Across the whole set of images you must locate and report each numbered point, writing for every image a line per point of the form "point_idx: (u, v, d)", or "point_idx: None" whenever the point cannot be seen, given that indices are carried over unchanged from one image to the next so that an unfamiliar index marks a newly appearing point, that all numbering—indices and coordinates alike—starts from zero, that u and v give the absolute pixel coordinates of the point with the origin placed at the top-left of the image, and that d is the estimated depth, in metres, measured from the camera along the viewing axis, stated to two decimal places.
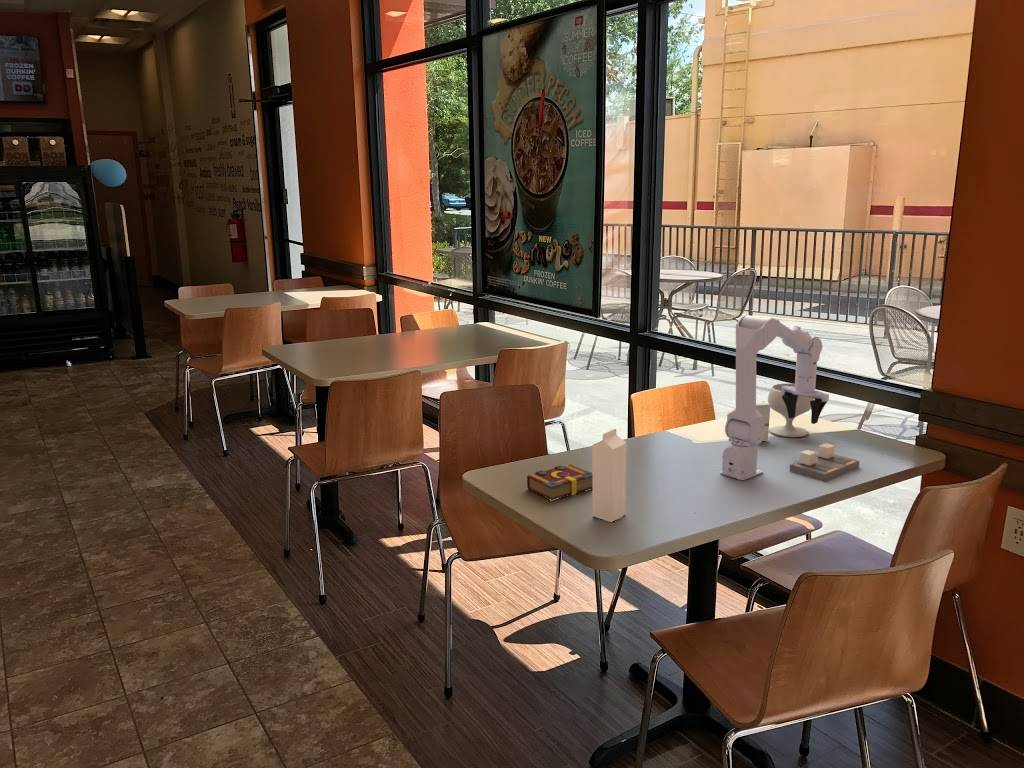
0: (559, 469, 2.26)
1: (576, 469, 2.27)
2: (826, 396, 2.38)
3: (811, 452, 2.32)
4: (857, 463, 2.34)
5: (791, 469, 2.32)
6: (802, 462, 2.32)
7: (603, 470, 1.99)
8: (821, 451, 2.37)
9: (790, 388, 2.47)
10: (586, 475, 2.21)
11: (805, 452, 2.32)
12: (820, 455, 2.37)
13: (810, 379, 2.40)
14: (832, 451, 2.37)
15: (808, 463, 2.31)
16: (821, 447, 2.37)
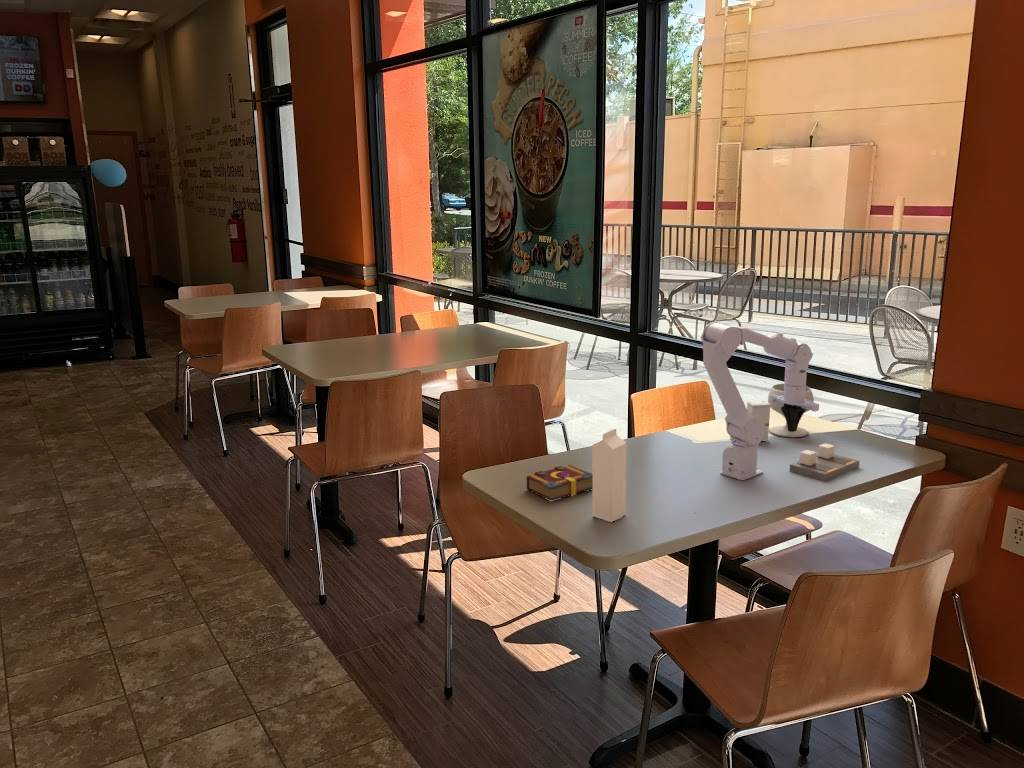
0: (559, 469, 2.26)
1: (575, 469, 2.26)
2: (816, 405, 2.27)
3: (811, 452, 2.32)
4: (857, 463, 2.34)
5: (791, 469, 2.32)
6: (802, 462, 2.32)
7: (603, 470, 1.99)
8: (821, 451, 2.37)
9: (779, 397, 2.36)
10: (586, 476, 2.21)
11: (805, 452, 2.32)
12: (820, 455, 2.37)
13: (799, 388, 2.29)
14: (832, 451, 2.37)
15: (808, 463, 2.31)
16: (821, 447, 2.37)
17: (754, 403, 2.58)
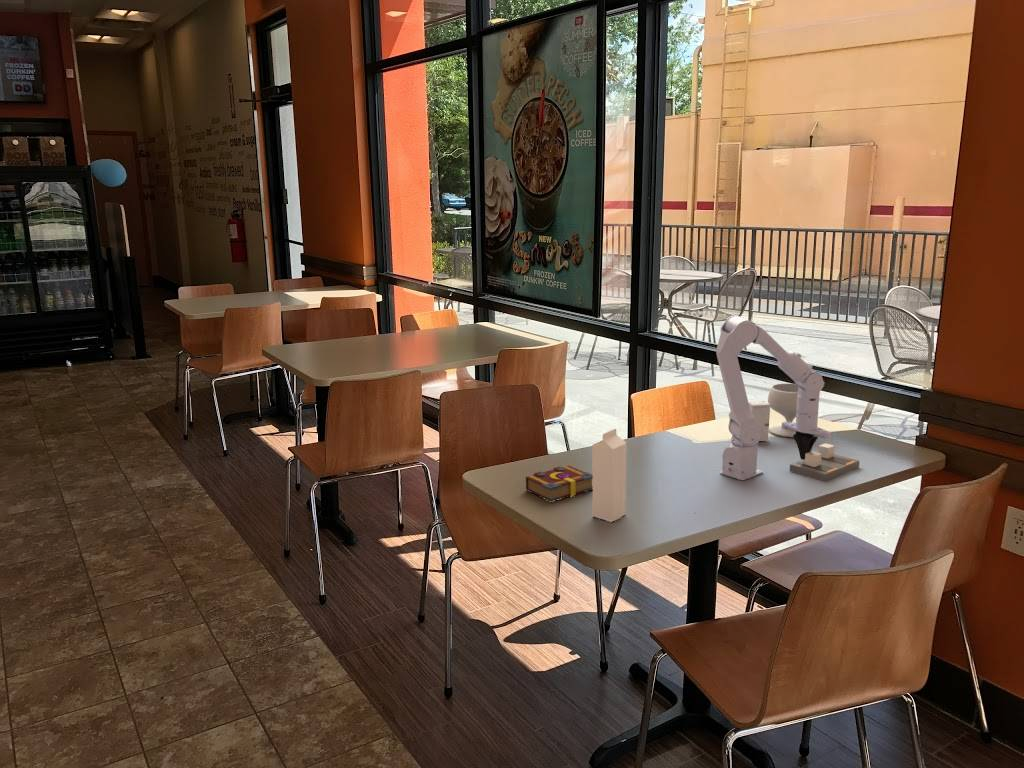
0: (558, 470, 2.25)
1: (575, 470, 2.26)
2: (828, 434, 2.25)
3: (816, 453, 2.30)
4: (857, 463, 2.34)
5: (791, 469, 2.32)
6: (807, 463, 2.31)
7: (603, 470, 1.99)
8: (821, 451, 2.37)
9: (791, 424, 2.34)
10: (585, 476, 2.20)
11: (810, 453, 2.30)
12: None
13: (812, 416, 2.27)
14: (832, 451, 2.37)
15: (813, 464, 2.29)
16: (821, 447, 2.37)
17: (754, 403, 2.58)
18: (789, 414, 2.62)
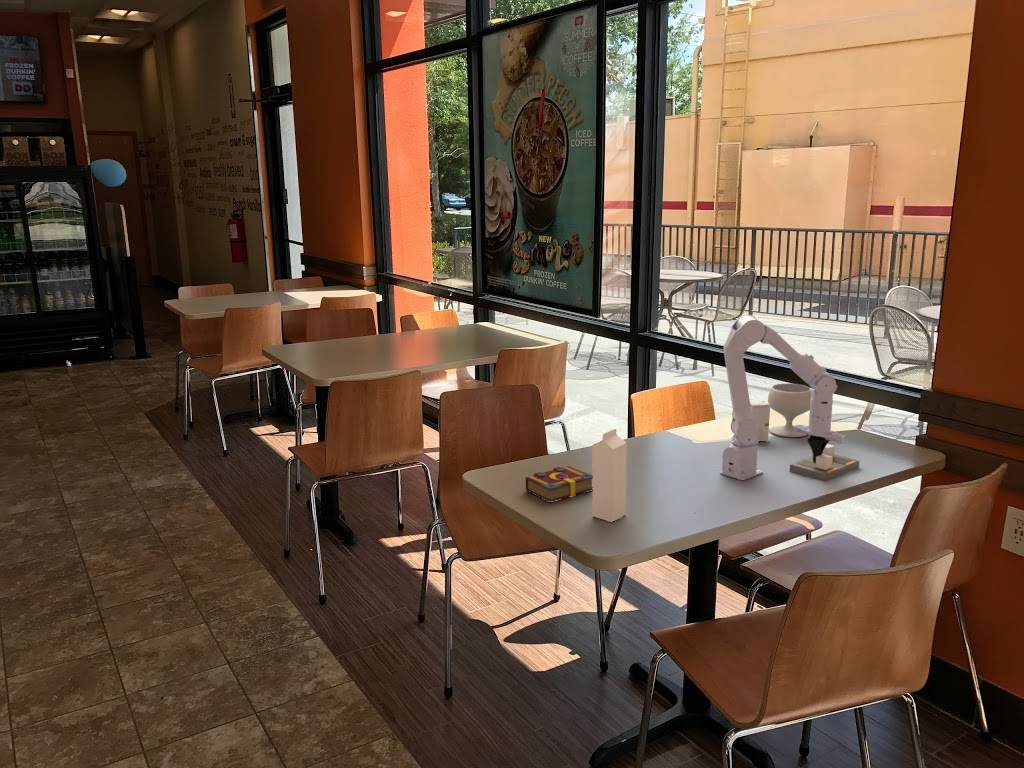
0: (558, 471, 2.25)
1: (574, 470, 2.25)
2: (842, 437, 2.22)
3: (827, 456, 2.28)
4: (857, 463, 2.34)
5: (791, 469, 2.32)
6: (818, 466, 2.28)
7: (603, 470, 1.99)
8: None
9: (803, 427, 2.31)
10: (585, 477, 2.20)
11: (821, 456, 2.28)
12: None
13: (825, 419, 2.24)
14: (832, 451, 2.37)
15: (824, 468, 2.27)
16: None
17: (754, 403, 2.58)
18: (789, 414, 2.62)
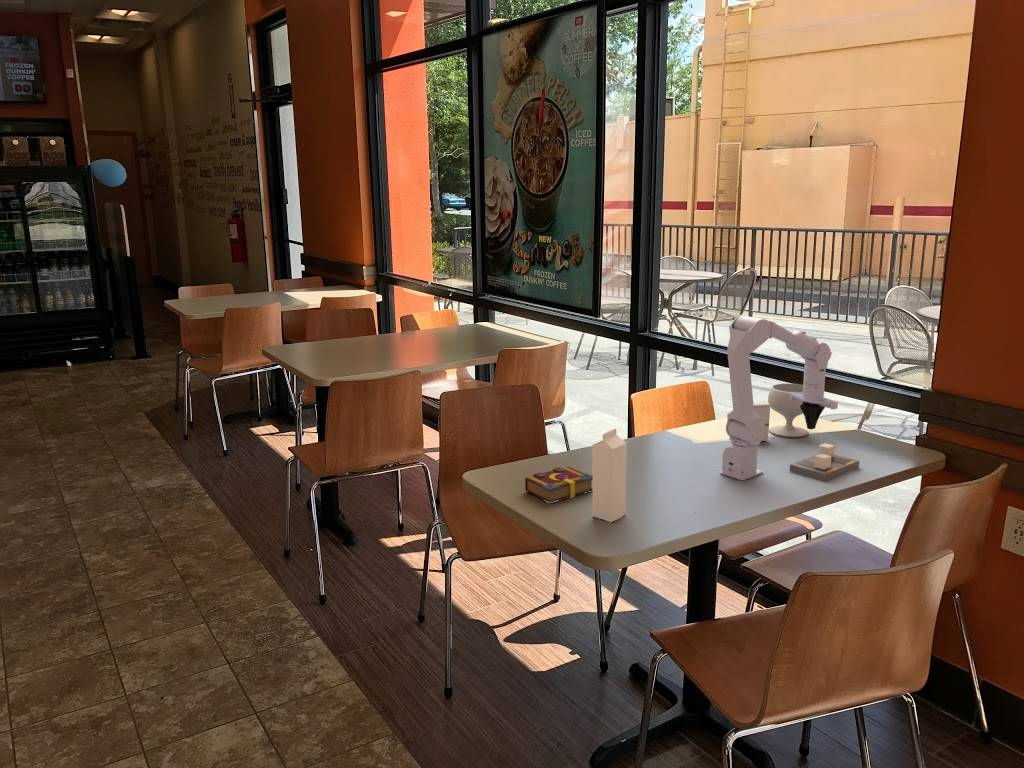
0: (557, 471, 2.25)
1: (574, 471, 2.25)
2: (835, 403, 2.32)
3: (826, 456, 2.28)
4: (857, 463, 2.34)
5: (791, 469, 2.32)
6: (817, 466, 2.28)
7: (603, 470, 1.99)
8: (821, 451, 2.37)
9: (798, 395, 2.41)
10: (585, 477, 2.20)
11: (820, 456, 2.28)
12: None
13: (818, 386, 2.34)
14: (832, 451, 2.37)
15: (823, 467, 2.27)
16: (821, 447, 2.37)
17: (754, 403, 2.58)
18: (789, 414, 2.62)
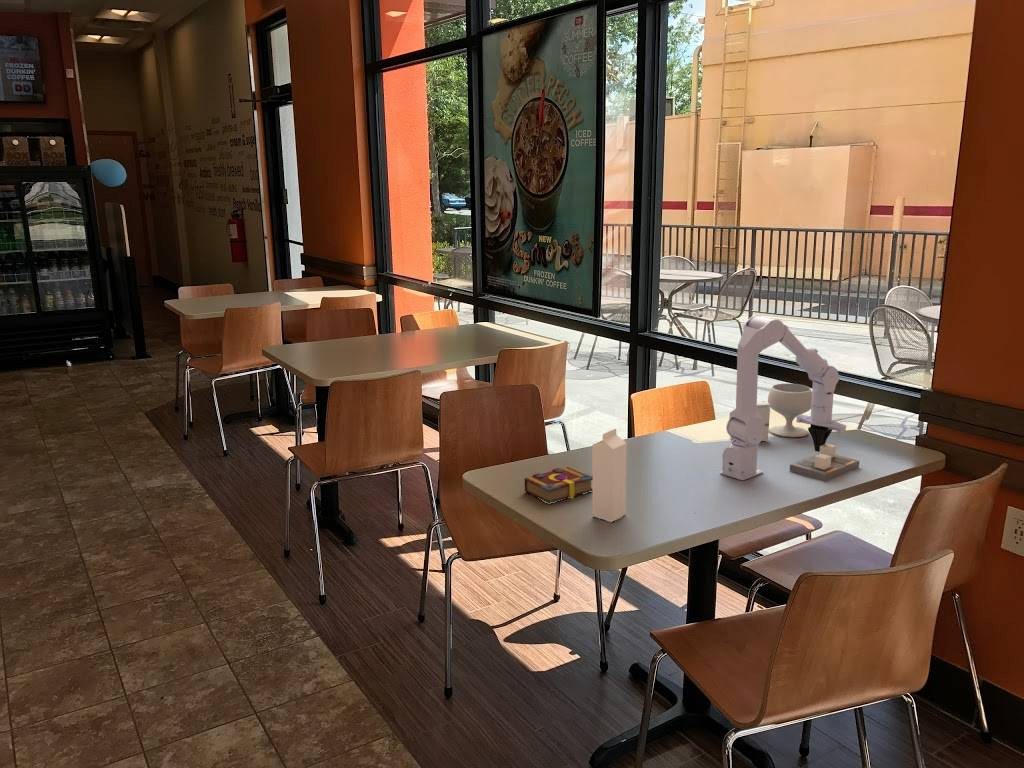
0: (557, 472, 2.24)
1: (574, 471, 2.25)
2: (843, 427, 2.31)
3: (826, 456, 2.28)
4: (857, 463, 2.34)
5: (791, 469, 2.32)
6: (817, 466, 2.28)
7: (603, 470, 1.99)
8: (822, 451, 2.37)
9: (805, 418, 2.40)
10: (584, 478, 2.19)
11: (820, 456, 2.28)
12: None
13: (826, 409, 2.34)
14: (833, 451, 2.36)
15: (823, 467, 2.27)
16: (822, 447, 2.36)
17: None
18: (789, 414, 2.62)
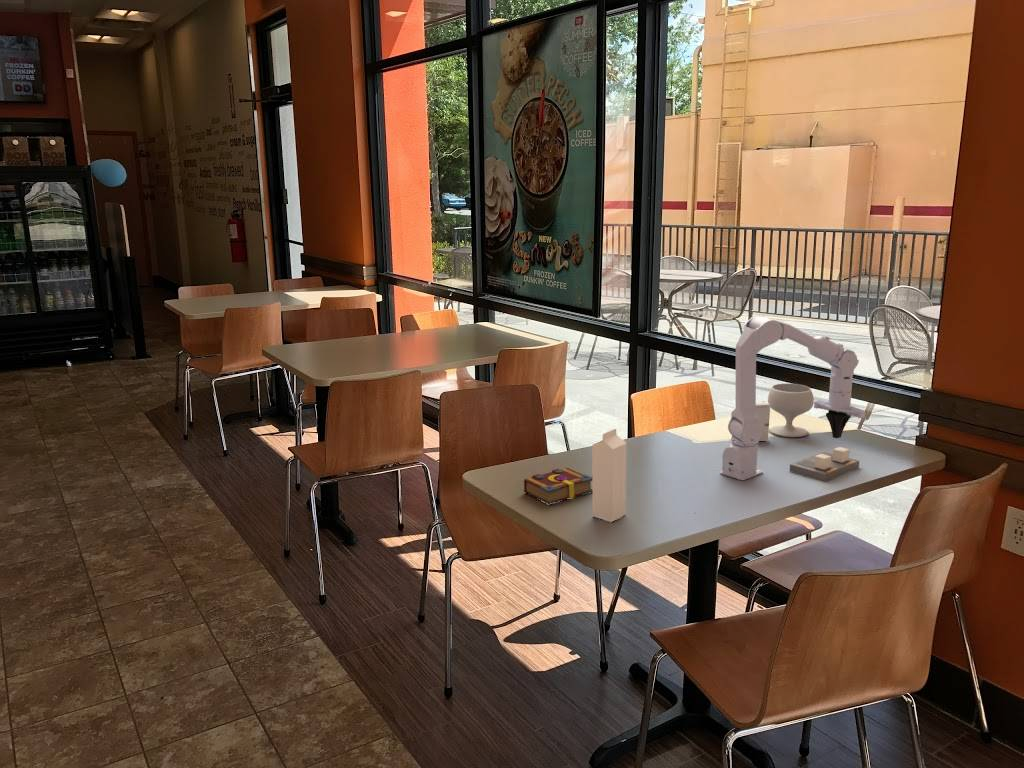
0: (556, 473, 2.24)
1: (573, 472, 2.24)
2: (862, 412, 2.26)
3: (826, 456, 2.28)
4: (857, 463, 2.34)
5: (791, 469, 2.32)
6: (817, 466, 2.28)
7: (603, 470, 1.99)
8: (836, 455, 2.33)
9: (823, 403, 2.35)
10: (584, 479, 2.19)
11: (820, 456, 2.28)
12: (834, 459, 2.34)
13: (845, 394, 2.28)
14: (847, 455, 2.33)
15: (823, 467, 2.27)
16: (836, 451, 2.33)
17: None
18: (789, 414, 2.62)
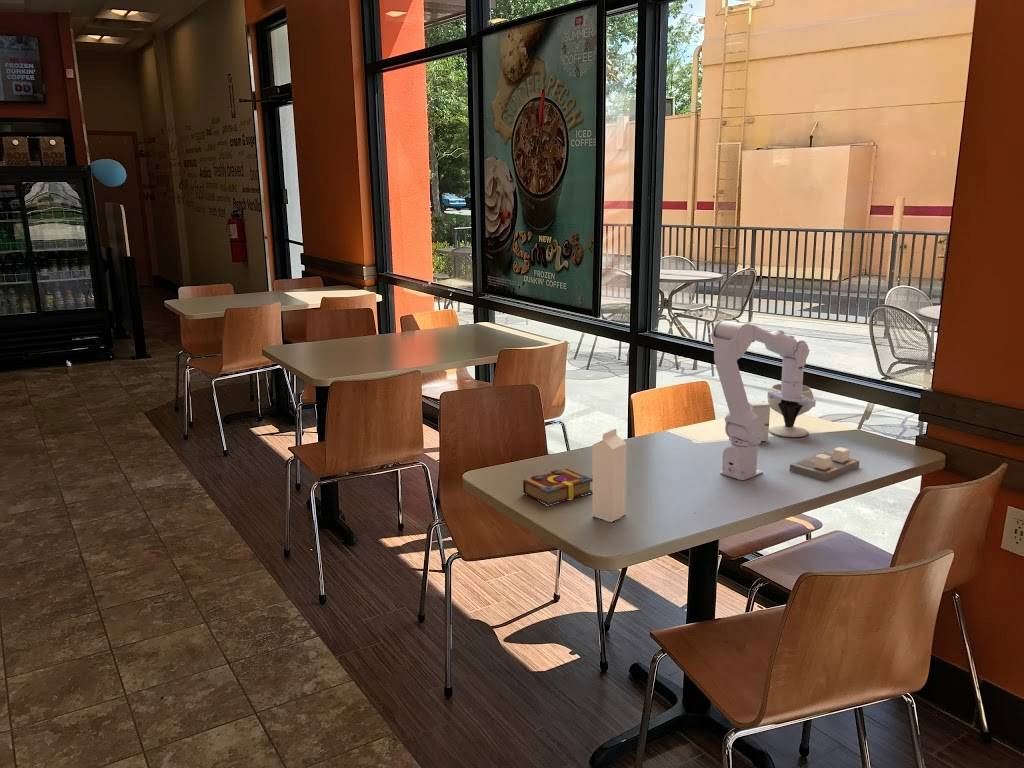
0: (556, 473, 2.23)
1: (573, 473, 2.23)
2: (812, 401, 2.31)
3: (826, 456, 2.28)
4: (857, 463, 2.34)
5: (791, 469, 2.32)
6: (817, 466, 2.28)
7: (603, 470, 1.99)
8: (836, 455, 2.33)
9: (776, 393, 2.40)
10: (583, 480, 2.18)
11: (820, 456, 2.28)
12: (834, 459, 2.34)
13: (796, 384, 2.33)
14: (847, 455, 2.33)
15: (823, 467, 2.27)
16: (836, 451, 2.33)
17: (754, 403, 2.58)
18: None
